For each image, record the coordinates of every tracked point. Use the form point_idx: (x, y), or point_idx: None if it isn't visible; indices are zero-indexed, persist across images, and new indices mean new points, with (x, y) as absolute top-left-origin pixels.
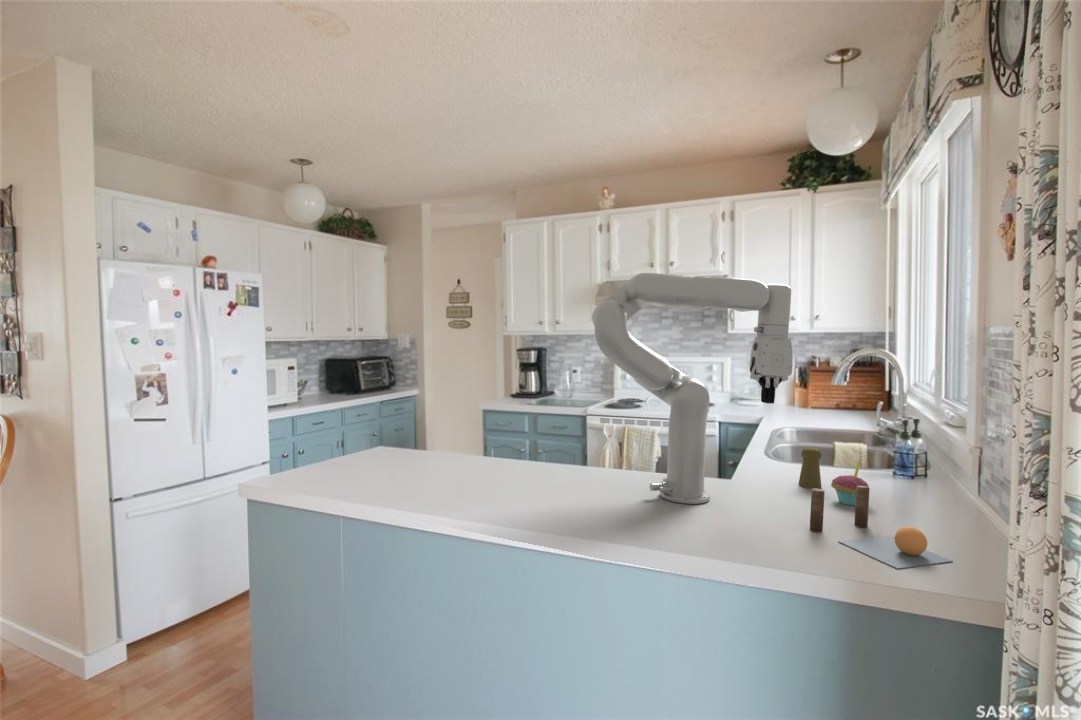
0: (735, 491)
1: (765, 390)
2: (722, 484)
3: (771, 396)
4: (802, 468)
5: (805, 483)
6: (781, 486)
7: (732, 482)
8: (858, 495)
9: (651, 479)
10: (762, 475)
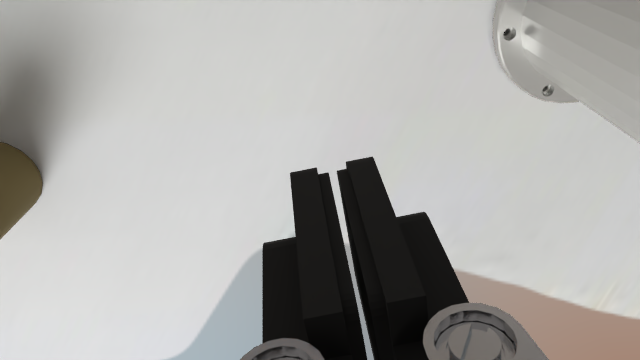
0: (343, 93)
1: (461, 294)
2: None
3: (338, 227)
4: (4, 219)
5: (17, 164)
6: (124, 165)
7: None
8: None
9: (568, 221)
10: (146, 293)
